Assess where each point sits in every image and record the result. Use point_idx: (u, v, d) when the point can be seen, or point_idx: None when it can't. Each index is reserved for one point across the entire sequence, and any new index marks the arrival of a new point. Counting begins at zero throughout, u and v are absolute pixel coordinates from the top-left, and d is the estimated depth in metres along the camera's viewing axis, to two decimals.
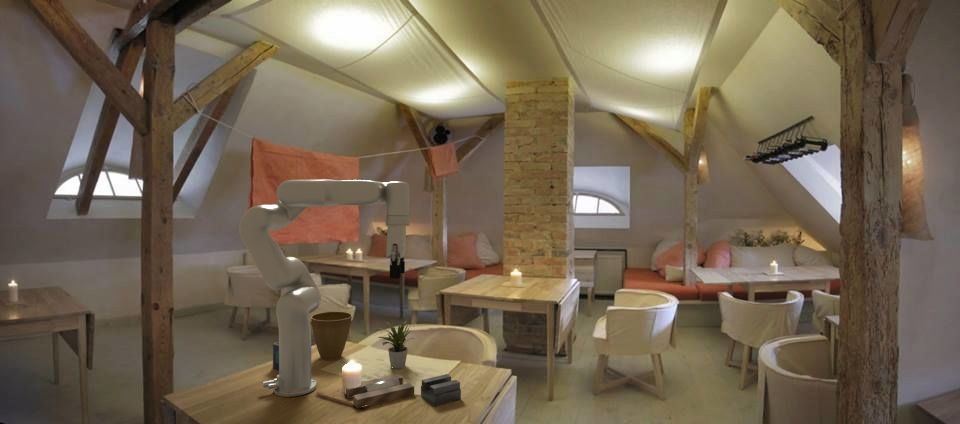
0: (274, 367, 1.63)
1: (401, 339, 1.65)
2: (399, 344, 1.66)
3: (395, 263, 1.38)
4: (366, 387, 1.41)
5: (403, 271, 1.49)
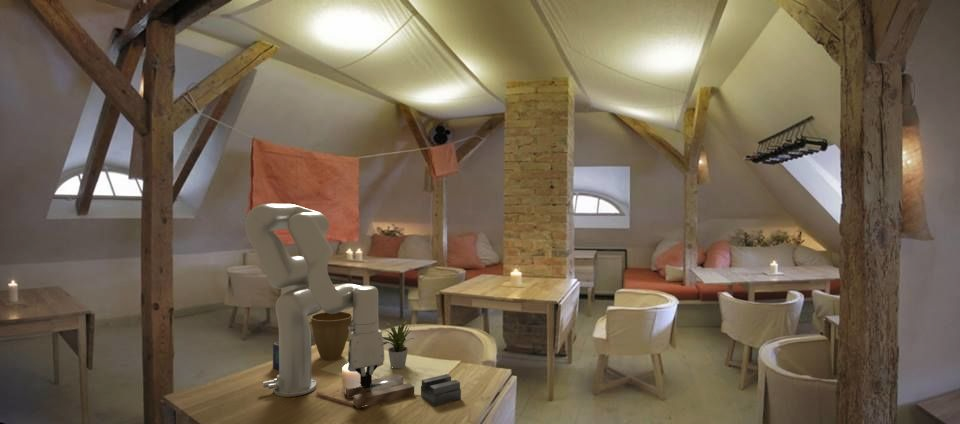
0: (274, 367, 1.63)
1: (401, 339, 1.65)
2: (399, 344, 1.66)
3: None
4: (370, 387, 1.41)
5: None
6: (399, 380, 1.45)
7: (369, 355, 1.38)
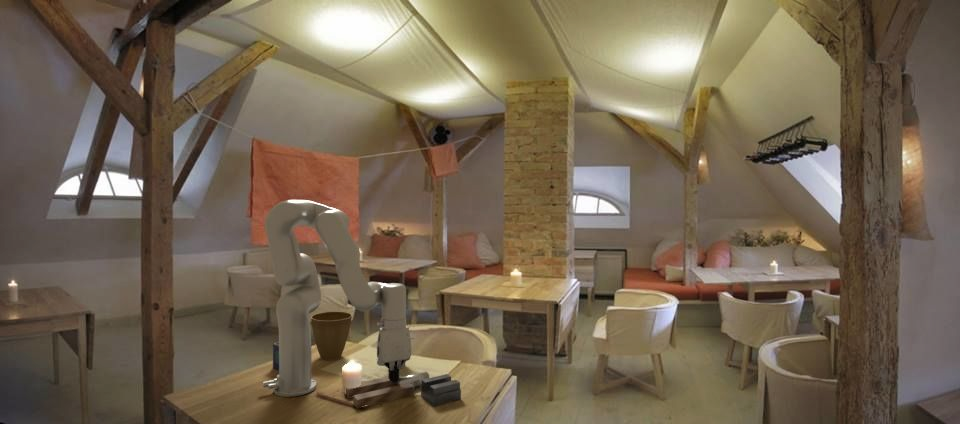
0: (274, 367, 1.63)
1: None
2: None
3: None
4: (398, 380, 1.46)
5: None
6: (425, 374, 1.49)
7: (397, 350, 1.43)
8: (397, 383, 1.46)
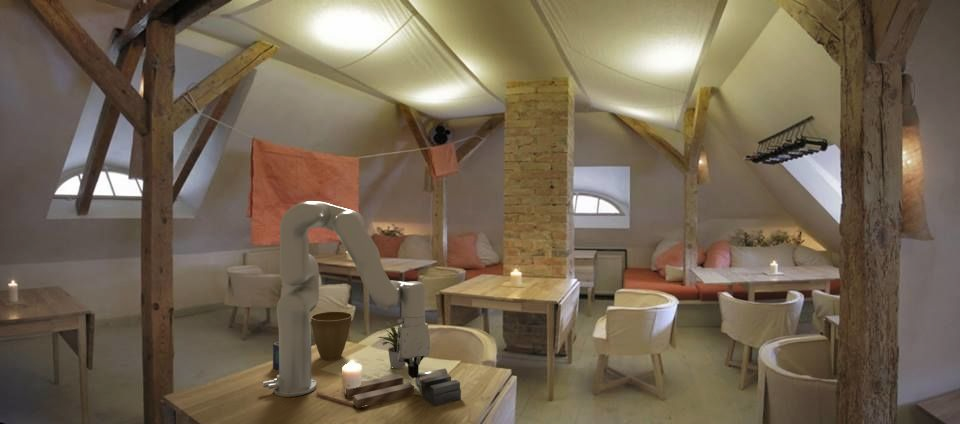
0: (274, 367, 1.63)
1: None
2: None
3: None
4: None
5: None
6: (443, 371, 1.53)
7: (417, 346, 1.46)
8: (416, 379, 1.50)
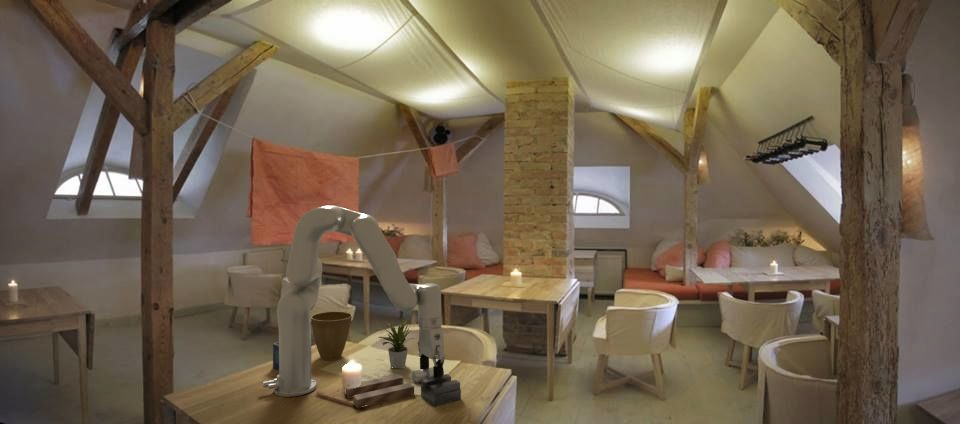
0: (274, 367, 1.63)
1: (401, 339, 1.65)
2: (399, 344, 1.66)
3: None
4: (413, 377, 1.53)
5: None
6: None
7: None
8: (414, 379, 1.52)
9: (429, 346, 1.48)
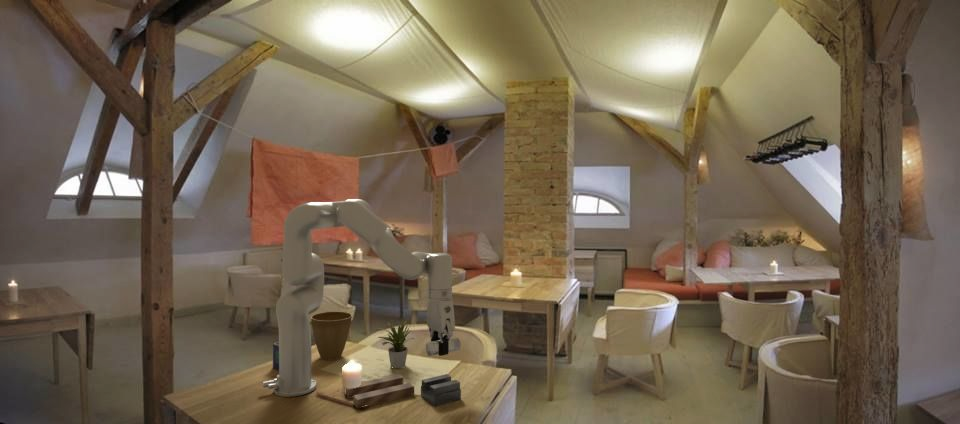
0: (274, 367, 1.63)
1: (401, 339, 1.65)
2: (399, 344, 1.66)
3: None
4: (427, 345, 1.41)
5: None
6: (453, 338, 1.45)
7: None
8: (427, 350, 1.40)
9: (439, 319, 1.37)
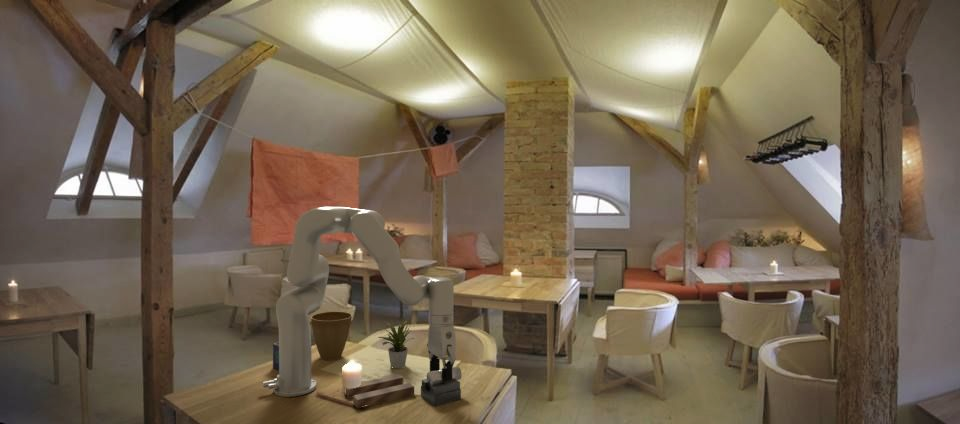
0: (274, 367, 1.63)
1: (401, 339, 1.65)
2: (399, 344, 1.66)
3: None
4: (428, 375, 1.39)
5: None
6: (454, 367, 1.44)
7: None
8: (428, 380, 1.39)
9: (440, 345, 1.36)
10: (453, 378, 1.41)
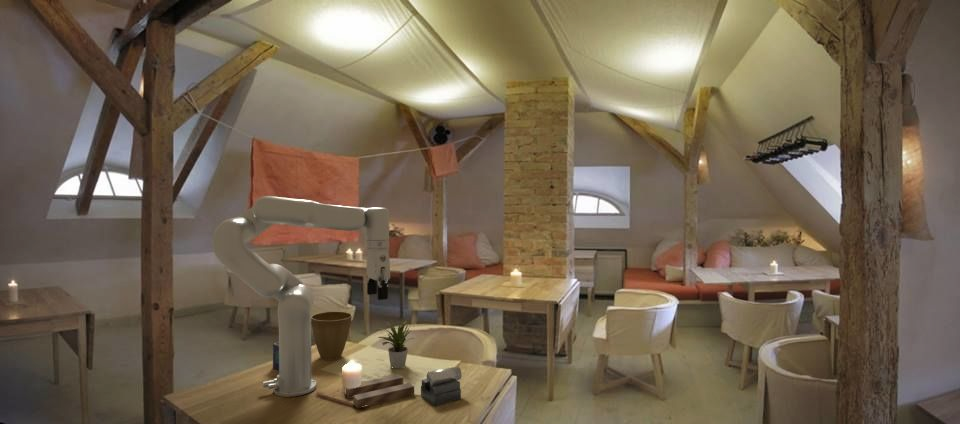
0: (274, 367, 1.63)
1: (401, 339, 1.65)
2: (399, 344, 1.66)
3: None
4: (428, 375, 1.39)
5: None
6: (454, 367, 1.44)
7: None
8: (428, 380, 1.39)
9: (374, 267, 1.47)
10: (453, 378, 1.41)
